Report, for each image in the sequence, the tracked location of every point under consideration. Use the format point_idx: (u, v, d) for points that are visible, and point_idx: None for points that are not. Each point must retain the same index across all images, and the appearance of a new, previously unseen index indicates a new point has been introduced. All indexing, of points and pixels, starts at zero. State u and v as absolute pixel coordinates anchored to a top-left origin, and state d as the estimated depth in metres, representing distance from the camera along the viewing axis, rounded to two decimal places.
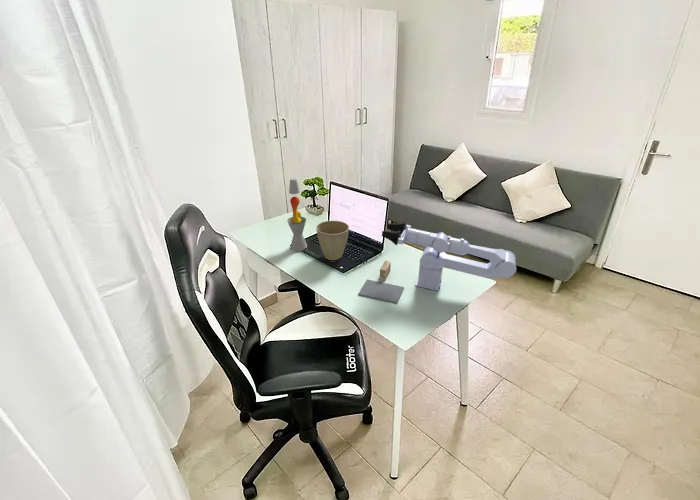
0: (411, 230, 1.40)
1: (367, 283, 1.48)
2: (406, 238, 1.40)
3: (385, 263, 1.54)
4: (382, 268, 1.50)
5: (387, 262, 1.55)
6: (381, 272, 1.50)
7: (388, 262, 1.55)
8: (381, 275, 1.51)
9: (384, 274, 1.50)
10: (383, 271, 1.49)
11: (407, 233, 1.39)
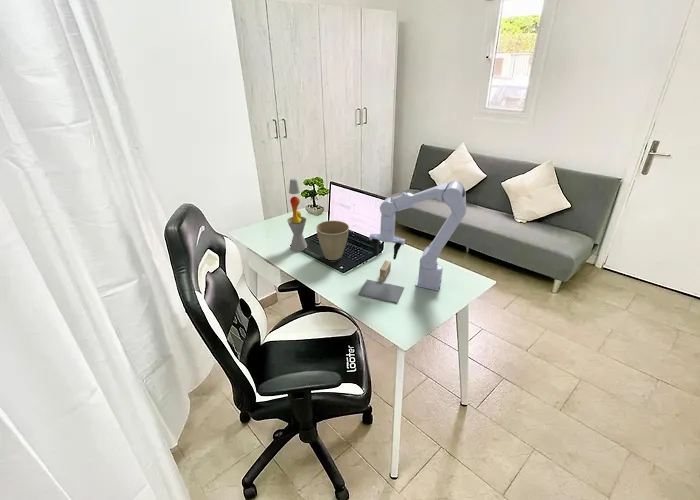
0: None
1: (367, 283, 1.48)
2: (380, 235, 1.46)
3: (385, 263, 1.54)
4: (382, 268, 1.50)
5: (387, 262, 1.55)
6: (381, 272, 1.50)
7: (388, 262, 1.55)
8: (381, 275, 1.51)
9: (384, 274, 1.50)
10: (383, 271, 1.49)
11: None
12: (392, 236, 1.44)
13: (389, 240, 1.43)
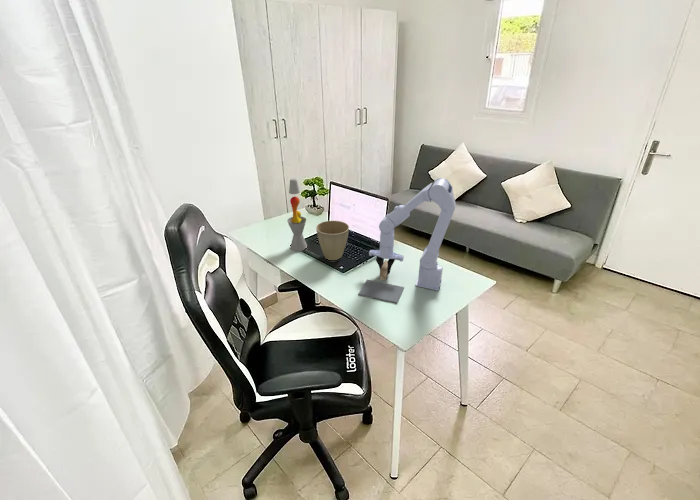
0: None
1: (367, 283, 1.48)
2: (379, 251, 1.50)
3: (385, 263, 1.54)
4: (382, 268, 1.50)
5: None
6: (381, 272, 1.50)
7: None
8: (381, 275, 1.51)
9: (384, 274, 1.50)
10: (383, 271, 1.49)
11: None
12: (391, 253, 1.47)
13: (388, 257, 1.47)
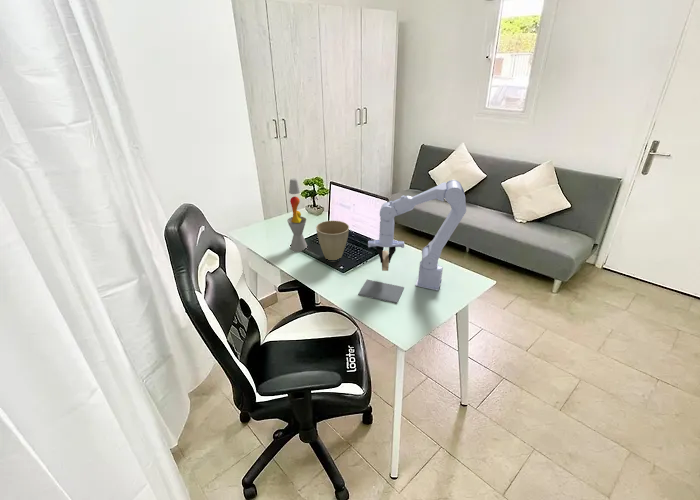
0: None
1: (367, 283, 1.48)
2: (379, 241, 1.43)
3: (384, 253, 1.48)
4: (384, 258, 1.44)
5: (385, 252, 1.49)
6: (384, 263, 1.44)
7: (386, 252, 1.49)
8: (384, 266, 1.45)
9: (387, 264, 1.44)
10: (386, 261, 1.44)
11: None
12: (392, 240, 1.42)
13: (390, 245, 1.42)
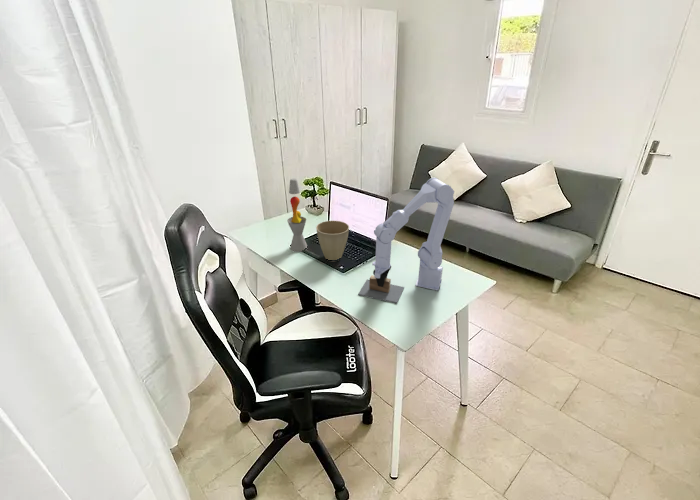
0: (375, 260, 1.37)
1: (367, 283, 1.48)
2: (381, 266, 1.35)
3: None
4: (386, 280, 1.40)
5: (374, 277, 1.42)
6: (389, 284, 1.40)
7: (373, 276, 1.43)
8: (389, 287, 1.41)
9: None
10: (389, 281, 1.41)
11: (376, 265, 1.36)
12: None
13: (389, 263, 1.38)
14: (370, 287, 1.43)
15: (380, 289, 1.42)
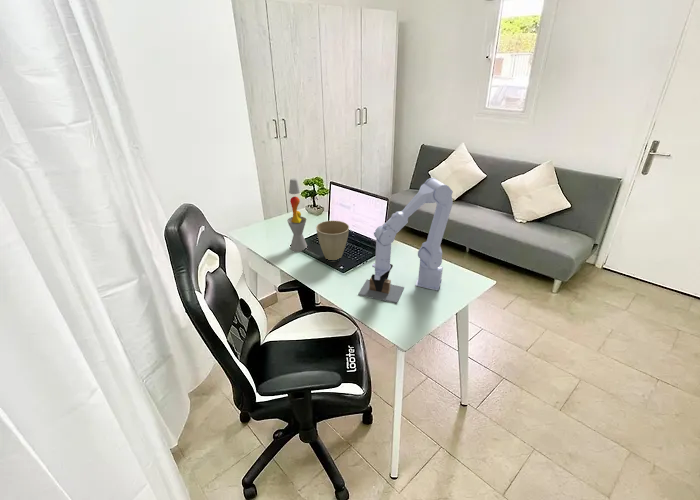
0: (375, 262, 1.38)
1: (367, 283, 1.48)
2: (381, 268, 1.36)
3: None
4: (387, 281, 1.40)
5: None
6: (389, 285, 1.40)
7: None
8: (389, 288, 1.41)
9: None
10: (390, 282, 1.41)
11: (376, 267, 1.37)
12: None
13: None
14: (370, 288, 1.44)
15: None
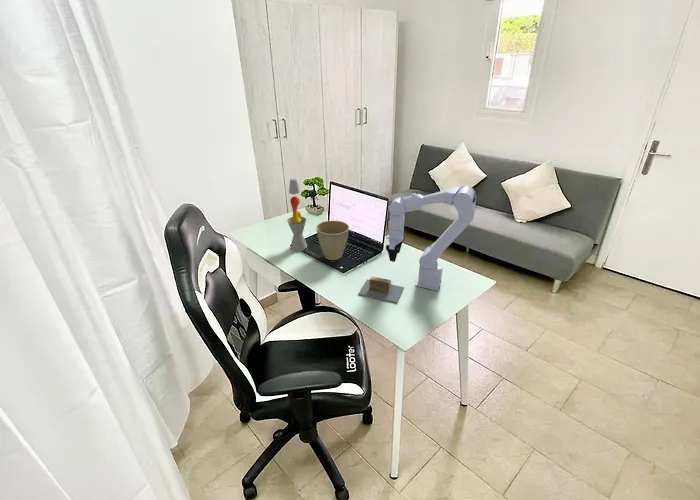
0: (389, 233, 1.45)
1: (367, 283, 1.48)
2: (395, 239, 1.43)
3: (376, 279, 1.42)
4: (387, 281, 1.40)
5: (374, 278, 1.42)
6: (389, 285, 1.40)
7: (374, 277, 1.43)
8: (389, 288, 1.41)
9: None
10: (390, 282, 1.41)
11: (390, 237, 1.44)
12: None
13: None
14: (370, 288, 1.44)
15: (380, 290, 1.42)
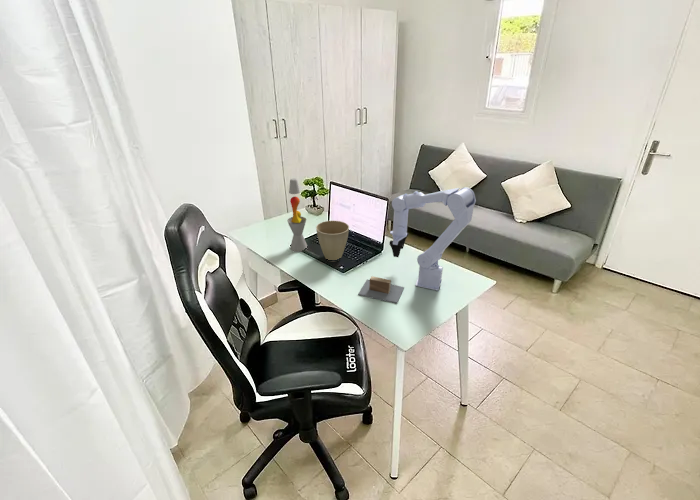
0: (393, 229, 1.48)
1: (367, 283, 1.48)
2: (398, 235, 1.46)
3: (376, 279, 1.42)
4: (387, 281, 1.40)
5: (374, 278, 1.42)
6: (389, 285, 1.40)
7: (374, 277, 1.43)
8: (389, 288, 1.41)
9: None
10: (390, 282, 1.41)
11: (394, 233, 1.47)
12: None
13: None
14: (370, 288, 1.44)
15: (380, 290, 1.42)
